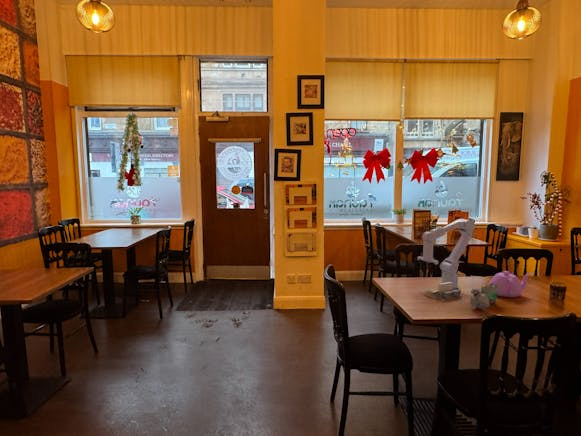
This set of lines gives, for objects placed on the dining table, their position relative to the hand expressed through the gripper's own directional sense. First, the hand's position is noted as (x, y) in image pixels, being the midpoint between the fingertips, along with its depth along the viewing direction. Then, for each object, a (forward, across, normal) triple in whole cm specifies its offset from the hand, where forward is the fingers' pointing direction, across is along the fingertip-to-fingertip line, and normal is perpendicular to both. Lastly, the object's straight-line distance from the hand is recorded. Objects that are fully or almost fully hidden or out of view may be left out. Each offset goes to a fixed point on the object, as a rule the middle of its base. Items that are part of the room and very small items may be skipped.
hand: (427, 273), depth 233 cm
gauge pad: (+9, +15, -4) cm, 18 cm away
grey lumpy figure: (+10, +40, -5) cm, 41 cm away
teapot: (+10, +30, +35) cm, 47 cm away
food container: (+10, +36, +10) cm, 39 cm away
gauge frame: (+9, +14, -2) cm, 17 cm away
